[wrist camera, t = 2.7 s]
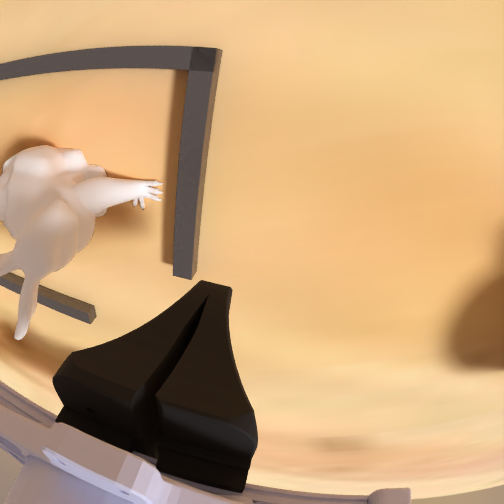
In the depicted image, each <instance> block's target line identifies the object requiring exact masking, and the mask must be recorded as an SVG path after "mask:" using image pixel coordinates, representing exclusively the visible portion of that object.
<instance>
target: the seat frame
mask: <svg viewBox="0 0 504 504" xmlns="http://www.w3.org/2000/svg"><path fill="white" fill-rule="evenodd" d="M221 56H222V50H220V49H217V48H206V47H187V46H125V47H108V48H95V49H85V50H76V51H68V52H60V53H54V54H47V55H42V56H36V57H31V58H26V59H21V60H16V61H12V62H7V63H3V64H0V80H3V79H9V78H15V77H21V76H27V75H34V74H42V73H51V72H60V71H71V70H85V69H106V68H159V69H180V70H189V74H188V81H187V89H186V96H185V105H184V113H183V123H182V132H181V142H180V153H179V165H178V178H177V192H176V208H175V227H174V252H173V276H177V277H181V278H185V279H189V280H192V278H193V276H194V275H195V273H196V271H197V257H198V245H199V233H200V222H201V212H202V202H203V192H204V182H205V173H206V164H207V156H208V148H209V139H210V132H211V124H212V116H213V109H214V102H215V95H216V88H217V81H218V75H219V68H220V62H221ZM23 282H24V279H23V278H21V277H19V276H16V275H14V274H12V273H7V274H5V275H2V276H0V285H1V286H3V287H5V288H7V289H10V290H12V291H14V292H16V293H18V294H21V290H22V286H23ZM37 302H38V303H40V304H42V305H44V306H47V307H49V308H51V309H54V310H56V311H59V312H61V313H63V314H66V315H68V316H71V317H73V318H76V319H78V320H81V321H83V322H86V323H89V324H91V323H92V322H93V320H94V319H95V318H96V313H95V308H94V306H93V305H90V304H87V303H84V302H82V301H79V300H76V299H74V298H71V297H68V296H66V295H63V294H60V293H58V292H55V291H53V290H50V289H48V288H45V287H43V286H40V285H39V286H38V296H37Z"/></svg>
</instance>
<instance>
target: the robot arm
mask: <svg viewBox="0 0 504 504" xmlns="http://www.w3.org/2000/svg"><path fill="white" fill-rule="evenodd" d="M231 296H232V289H231V287H228V286H224V285H220V284H215V283H211V282H207V281H203V280H201V281H199V282H198V283H197V284H196V285H195V286H194V287H193V288H192V289H191V290H190V291H188V292H187V293H186V294H185V295H184V296H183V297H182V298H180V299H179V300H178V301H177V302H175V303H174V304H173V305H172V306H170V307H169V308H168V309H166V310H165V311H164V312H162V313H161V314H159V315H158V316H157V317H155V318H154V319H152V320H151V321H149V322H147V323H146V324H144V325H142V326H141V327H139V328H137V329H135V330H133V331H131V332H129V333H127V334H125V335H123V336H121V337H119V338H117V339H114V340H112V341H109V342H106V343H104V344H101V345H98V346H95V347H91V348H87V349H83V350H80V351H76V352H72V353H71V354H70V355H69V356H68V358H67V359H66V360H65V361H64V362H63V364H62V365H61V367H60V368H59V370H58V371H57V372H56V374H55V375H54V377H53V385H54V388H55V390H56V392H57V394H58V396H59V398H60V399H61V401H62V403H63V405H64V407H63V408H62V410H61V411H60V413H59V415H58V416H57V415H55V414H53V413H51V412H49V411H48V410H46V409H44V408H42V407H41V406H39V405H37V404H36V403H34V402H32V401H30V400H29V399H27V398H26V397H24V396H22V395H21V394H19V393H18V392H16V391H15V390H13V389H11V388H10V387H8V386H7V385H5V384H4V383H2V382H1V381H0V447H1V448H2V449H3V450H5V451H6V452H7V453H8V454H10V455H11V456H12V457H14V458H15V459H16V460H18V461H19V462H21V463H22V464H23V465H24V466H23V467H22V469H21V471H20V473H19V475H18V477H17V479H16V481H15V482H14V484H13V486H12V488H11V490H10V492H9V494H8V496H7V498H6V500H5V502H4V504H411V490H410V488H387V489H380V490H376V491H374V492H373V493H371V494H370V495H369V496H364V495H335V494H320V493H309V492H300V491H291V490H284V489H277V488H270V487H264V486H258V485H253V484H248V483H246V480H247V475H248V470H249V469H250V464H251V460H252V457H253V455H254V453H255V451H256V448H257V445H258V433H257V425H256V420H255V415H254V410H253V408H252V406H251V404H250V402H249V400H248V397H247V395H246V393H245V390H244V388H243V385H242V383H241V380H240V377H239V374H238V370H237V367H236V364H235V360H234V356H233V351H232V346H231V339H230V331H229V309H230V303H231Z"/></svg>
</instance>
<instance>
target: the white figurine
mask: <svg viewBox="0 0 504 504" xmlns="http://www.w3.org/2000/svg"><path fill="white" fill-rule="evenodd" d="M2 169H3V172H2V173H3V174H2V175H1V176H0V220H1V221H3V222H4V226H5V227H7V229H8V230H9V232H10V233H11V234H10V235H11V236H12V237H13V238H14V239H16V240H17V241H16V244H15V248H14V250H13V251H11V252H8V253H5V254H0V276H2V275H5V274H7V273H9V272H11V271H14V270H17V269H21V270H22V271H23V272H24V274H25V279H24V282H23V286H22V290H21V294H20V299H19V309H18V321H17V326H16V330H15V335H14V338H15V339H17V340H20V339H22V338H23V337H24V336H25V335H26V333H27V329H28V327H29V324H30V320H31V318H32V316H33V314H34V312H35V310H36V307H37V296H38V286H39V283H40V280H41V279H42V278H44V277H45V276H47V275H49V274H50V273H52V272H55V271H58V270H60V269H62V268H63V267H65V266H66V265H67V264H68V263H69V262H70V261H71V260H72V259H73V257H74V256H75V254H76V253H78V252H80V251H81V250H82V249H84V248H85V247H86V246H87V245H88V243H89V242H90V240H91V238H92V235H93V232H94V229H95V217H100V216H103V215H104V214H105V213H106V212H107V208H108V207H111V206H114V205H117V204H121V203H124V202H127V201H130V200H133V205H134V207H135V206H136V205H137V202H138V199H139V201H140V206H141V208H143V210H144V207H145V203H144V197H145V198H149V199H153V200H155V201H161V200H162V199H159V198H158V196H157V195H158V194H161V193H163V192H162V191H160V190H159V189H158V188H152V187H148V186H157V185H162V184H163V183H160V182H158V180H154V181H144V180H130V179H118V178H110V177H107V175H106V172H105V170H104V169H103V168H102V167H100V166H97V165H88V164H87V162H86V160H85V157H84V155H83V153H82V152H81V151H80V150H79V149H66V148H56V147H52V146H48V145H40V146H36V147H31V148H27V149H24V150H22V151H20V152H19V153H17V154H15V155H14V156H12V157H11V158H10V159H8V160H7V161H6V162H5V163H4V164H3V168H2ZM152 193H154V194H157V195H153V194H152Z"/></svg>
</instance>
